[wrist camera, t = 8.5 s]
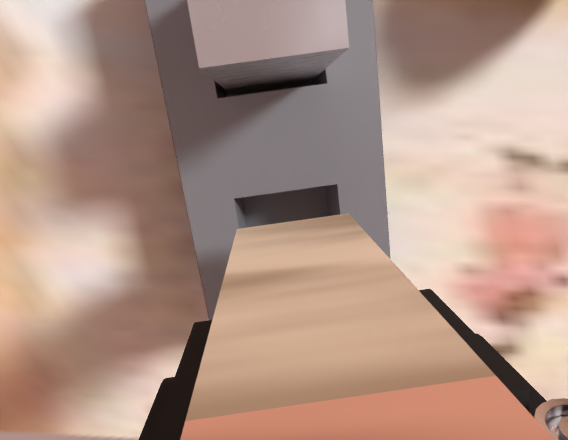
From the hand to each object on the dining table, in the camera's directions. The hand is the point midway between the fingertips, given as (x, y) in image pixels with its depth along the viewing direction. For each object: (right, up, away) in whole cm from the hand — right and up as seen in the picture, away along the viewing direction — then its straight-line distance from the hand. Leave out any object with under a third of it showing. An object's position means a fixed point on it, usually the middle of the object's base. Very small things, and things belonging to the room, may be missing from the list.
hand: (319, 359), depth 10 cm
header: (-1, +9, +14) cm, 16 cm away
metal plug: (-2, +13, +12) cm, 18 cm away
